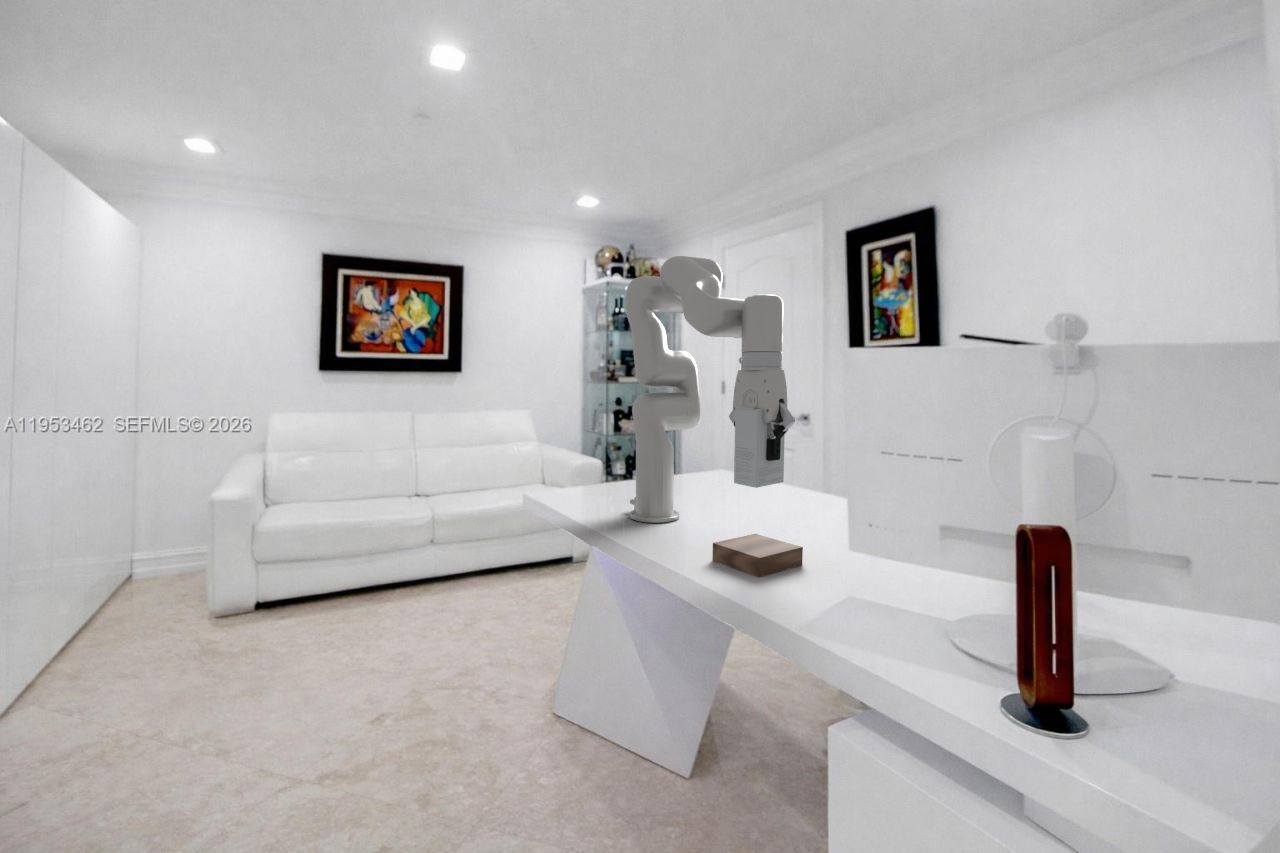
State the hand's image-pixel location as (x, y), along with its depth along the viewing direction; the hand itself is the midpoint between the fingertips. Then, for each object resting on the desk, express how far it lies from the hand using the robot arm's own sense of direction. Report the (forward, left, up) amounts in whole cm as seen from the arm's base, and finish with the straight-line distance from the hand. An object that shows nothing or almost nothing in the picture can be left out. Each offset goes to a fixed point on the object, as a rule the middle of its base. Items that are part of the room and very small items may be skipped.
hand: (759, 457), depth 114 cm
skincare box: (0, 0, -5) cm, 5 cm away
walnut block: (0, 0, -20) cm, 20 cm away
